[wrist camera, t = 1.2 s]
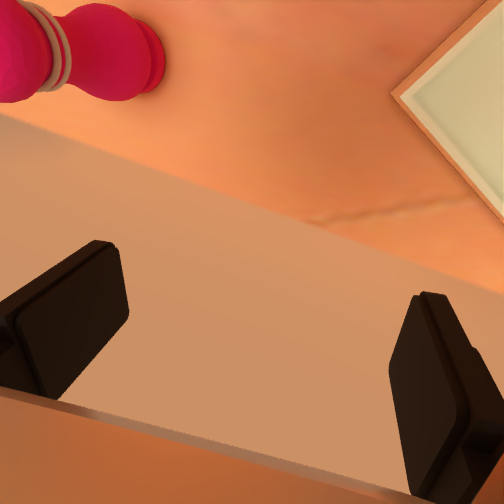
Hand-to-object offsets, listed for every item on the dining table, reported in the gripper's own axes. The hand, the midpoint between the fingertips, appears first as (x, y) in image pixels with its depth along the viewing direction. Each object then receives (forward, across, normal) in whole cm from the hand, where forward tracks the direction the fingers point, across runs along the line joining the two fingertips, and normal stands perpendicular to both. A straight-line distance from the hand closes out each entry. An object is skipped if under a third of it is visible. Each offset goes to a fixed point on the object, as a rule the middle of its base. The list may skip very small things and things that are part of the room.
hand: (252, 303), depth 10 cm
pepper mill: (+26, +18, -7) cm, 32 cm away
